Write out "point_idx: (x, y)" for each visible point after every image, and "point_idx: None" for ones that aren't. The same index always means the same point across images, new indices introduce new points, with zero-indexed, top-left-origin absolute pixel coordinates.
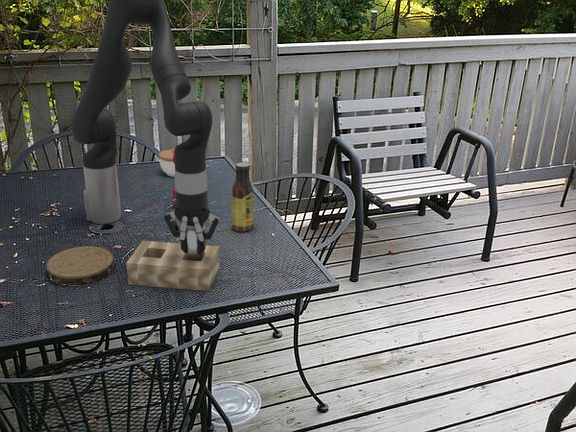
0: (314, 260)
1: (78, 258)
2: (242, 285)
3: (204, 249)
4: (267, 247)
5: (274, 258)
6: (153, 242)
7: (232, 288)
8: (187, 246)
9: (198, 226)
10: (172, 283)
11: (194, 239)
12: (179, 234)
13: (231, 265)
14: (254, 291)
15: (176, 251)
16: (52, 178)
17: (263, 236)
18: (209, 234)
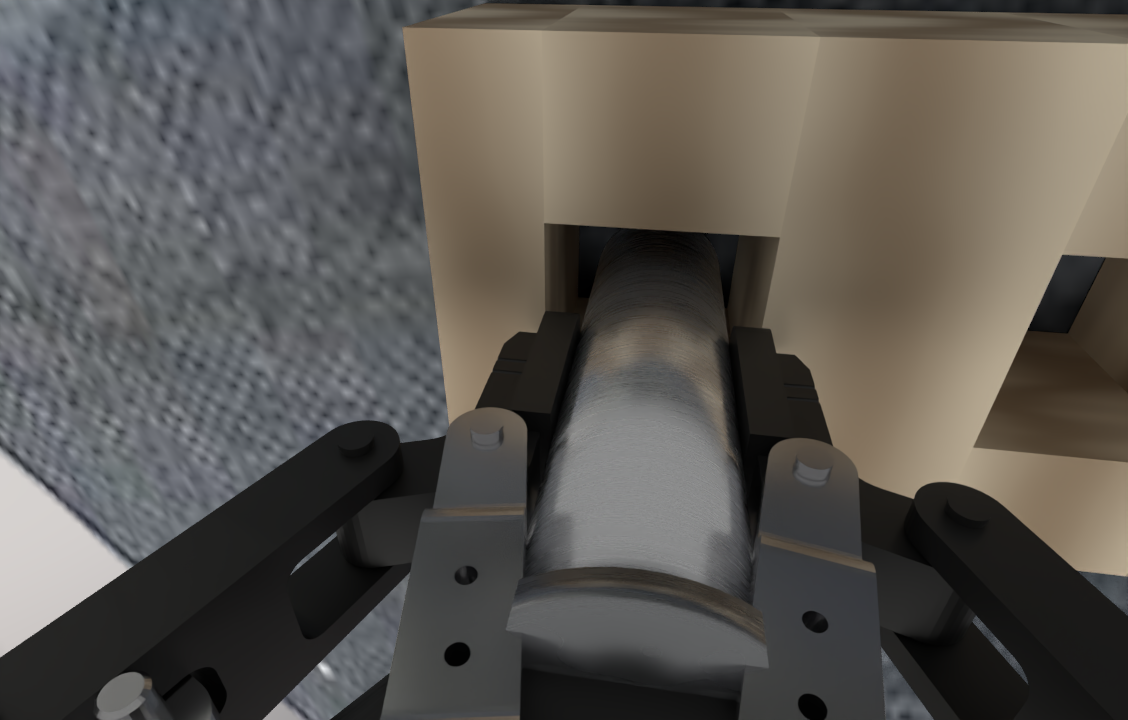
0: (10, 461)
1: None
2: (257, 141)
3: (501, 354)
4: None
5: (215, 476)
6: (1117, 558)
7: (311, 82)
8: (718, 371)
9: (437, 629)
10: (853, 14)
11: (597, 427)
12: (873, 529)
13: (431, 399)
14: (133, 56)
15: (857, 407)
16: None
17: (362, 656)
18: (315, 484)
